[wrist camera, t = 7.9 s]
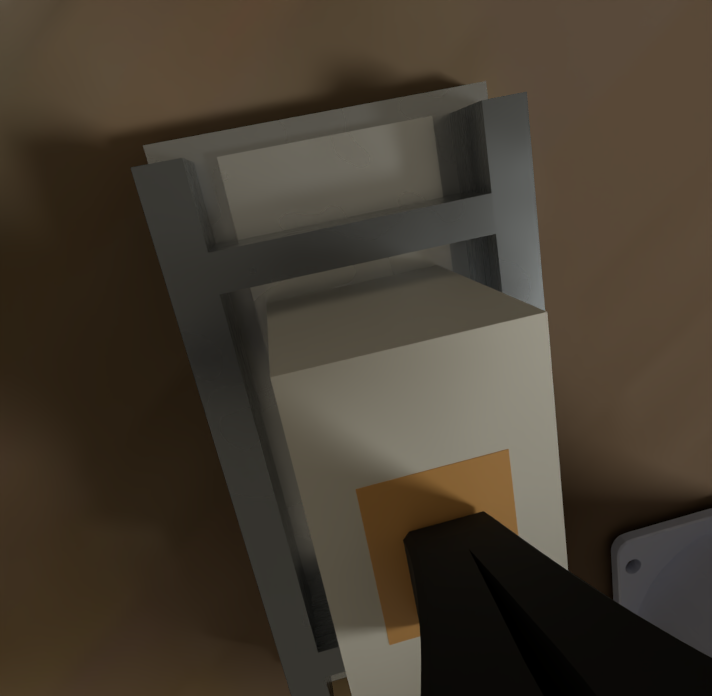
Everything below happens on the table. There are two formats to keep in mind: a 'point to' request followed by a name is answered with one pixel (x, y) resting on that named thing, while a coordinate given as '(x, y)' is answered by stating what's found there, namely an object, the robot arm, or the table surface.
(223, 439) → the rail mount
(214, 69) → the table surface
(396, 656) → the module
